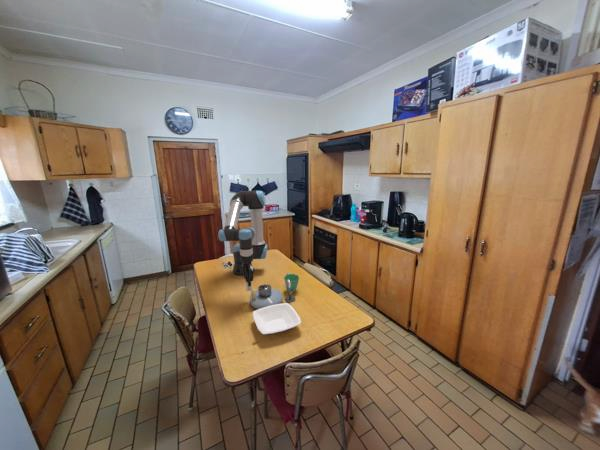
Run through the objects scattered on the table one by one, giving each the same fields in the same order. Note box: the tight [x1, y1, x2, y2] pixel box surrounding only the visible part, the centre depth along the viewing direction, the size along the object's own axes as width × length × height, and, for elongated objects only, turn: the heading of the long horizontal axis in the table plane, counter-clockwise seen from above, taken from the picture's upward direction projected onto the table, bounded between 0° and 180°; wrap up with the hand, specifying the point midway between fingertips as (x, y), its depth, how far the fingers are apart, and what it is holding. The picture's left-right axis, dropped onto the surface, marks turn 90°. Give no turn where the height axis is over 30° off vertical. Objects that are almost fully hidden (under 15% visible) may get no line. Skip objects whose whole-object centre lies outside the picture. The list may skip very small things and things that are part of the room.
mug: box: [283, 272, 300, 293], centre depth 165 cm, size 15×10×10 cm
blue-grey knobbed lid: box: [249, 287, 283, 310], centre depth 149 cm, size 20×20×10 cm
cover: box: [257, 284, 272, 298], centre depth 151 cm, size 8×8×5 cm
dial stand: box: [284, 279, 296, 304], centre depth 151 cm, size 5×5×14 cm
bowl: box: [252, 302, 302, 335], centre depth 128 cm, size 22×23×6 cm
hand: (249, 290), depth 152 cm, fingers closed
